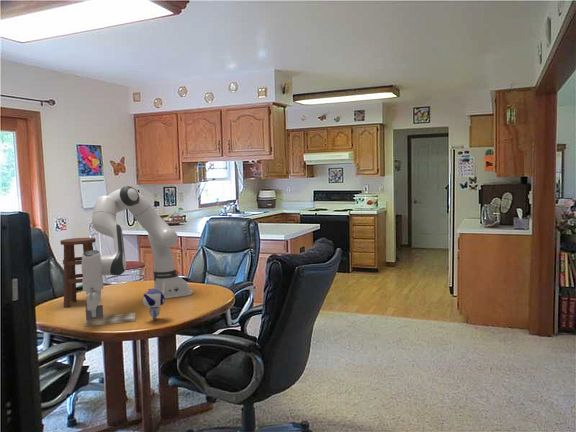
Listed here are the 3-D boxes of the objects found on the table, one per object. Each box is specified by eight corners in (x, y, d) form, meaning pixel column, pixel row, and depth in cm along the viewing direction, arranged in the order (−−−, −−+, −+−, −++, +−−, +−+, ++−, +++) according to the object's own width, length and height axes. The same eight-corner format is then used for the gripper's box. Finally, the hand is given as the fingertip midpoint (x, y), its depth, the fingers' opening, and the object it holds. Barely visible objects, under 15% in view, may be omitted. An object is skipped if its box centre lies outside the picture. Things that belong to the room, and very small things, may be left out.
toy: (163, 323, 219) (162, 290, 218) (141, 324, 218) (139, 291, 217) (167, 316, 229) (166, 285, 228) (146, 317, 229) (145, 286, 227)
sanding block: (103, 317, 226) (102, 304, 225) (102, 319, 222) (101, 306, 222) (87, 319, 224) (86, 306, 223) (86, 321, 220) (85, 308, 220)
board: (135, 315, 233) (135, 312, 233) (134, 321, 223) (134, 318, 223) (87, 320, 227) (86, 317, 227) (84, 326, 217) (83, 323, 217)
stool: (84, 236, 272) (105, 238, 260) (88, 297, 274) (108, 301, 263) (50, 240, 256) (71, 242, 244) (55, 305, 258) (75, 310, 247)
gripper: (97, 290, 213) (99, 320, 214) (102, 281, 232) (104, 309, 233) (82, 291, 211) (84, 322, 212) (88, 282, 231) (90, 310, 232)
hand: (94, 315), depth 223 cm, fingers closed on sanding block, 3 cm apart
